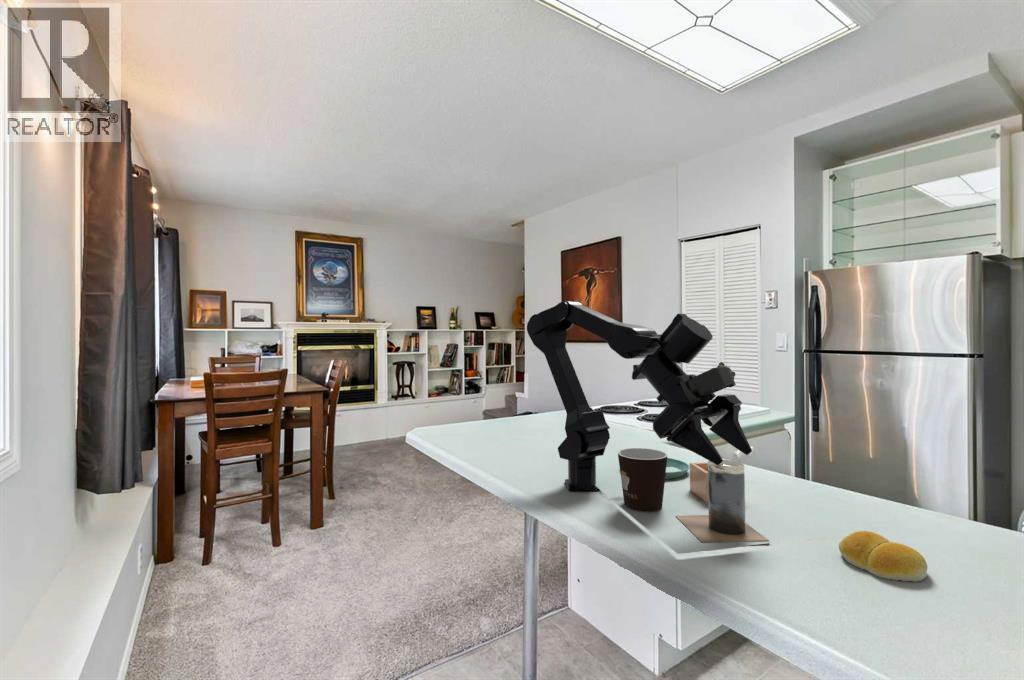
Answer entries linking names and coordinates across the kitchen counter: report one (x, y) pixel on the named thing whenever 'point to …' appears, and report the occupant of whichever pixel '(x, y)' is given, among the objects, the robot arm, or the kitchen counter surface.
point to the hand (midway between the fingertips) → (735, 457)
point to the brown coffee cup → (642, 478)
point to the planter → (699, 480)
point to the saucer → (678, 465)
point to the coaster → (705, 534)
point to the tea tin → (726, 497)
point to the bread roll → (883, 557)
